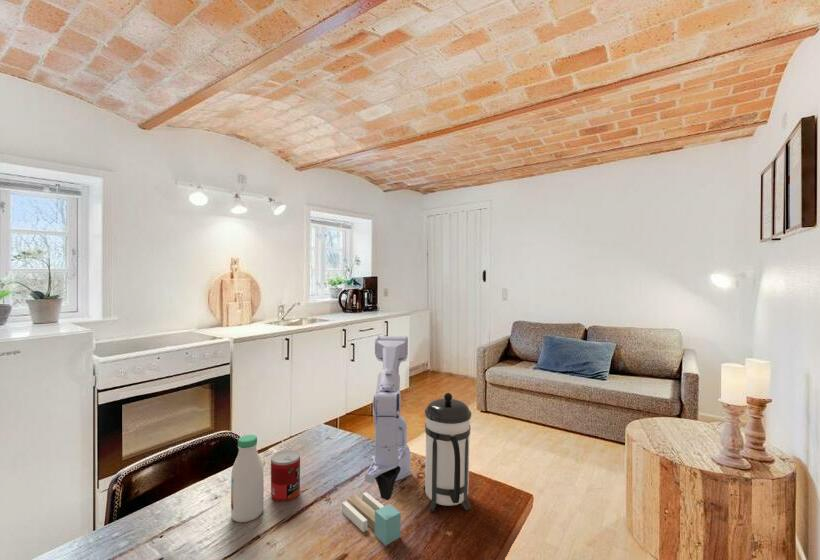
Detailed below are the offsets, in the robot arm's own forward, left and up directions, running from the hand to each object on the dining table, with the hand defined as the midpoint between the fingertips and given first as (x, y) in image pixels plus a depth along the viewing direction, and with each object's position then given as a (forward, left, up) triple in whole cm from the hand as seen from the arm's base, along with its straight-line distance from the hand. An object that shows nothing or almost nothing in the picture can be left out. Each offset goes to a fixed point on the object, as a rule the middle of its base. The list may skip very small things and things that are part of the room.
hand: (385, 497), depth 92 cm
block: (0, +1, -9) cm, 9 cm away
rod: (0, -9, -9) cm, 13 cm away
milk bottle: (+23, -29, -9) cm, 38 cm away
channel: (0, -9, -9) cm, 13 cm away
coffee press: (-21, +1, -9) cm, 23 cm away
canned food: (+12, -31, -9) cm, 35 cm away
